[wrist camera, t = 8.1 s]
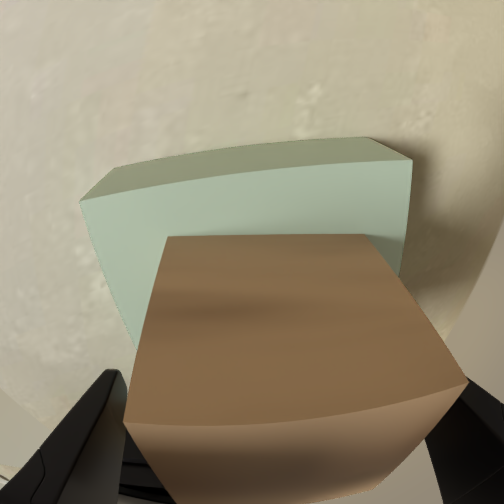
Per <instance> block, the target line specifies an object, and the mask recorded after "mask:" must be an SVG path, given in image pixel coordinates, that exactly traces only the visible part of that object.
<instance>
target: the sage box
mask: <svg viewBox="0 0 504 504" xmlns="http://www.w3.org/2000/svg"><path fill="white" fill-rule="evenodd" d="M412 164H413V160H412V159H410V158H408V157H406V156H404V155H402V154H400V153H398V152H396V151H394V150H392V149H390V148H388V147H386V146H384V145H382V144H380V143H378V142H376V141H374V140H372V139H370V138H367V137H352V138H330V139H313V140H299V141H287V142H276V143H266V144H257V145H248V146H239V147H231V148H224V149H217V150H210V151H203V152H196V153H190V154H184V155H178V156H172V157H166V158H161V159H156V160H150V161H145V162H140V163H135V164H130V165H126V166H121V167H116V168H114V169H112V170H111V171H110V172H109V173H108V174H107V175H106V176H105V177H104V178H103V179H101V180H100V181H99V182H98V183H97V184H96V185H95V186H94V187H93V188H92V189H91V190H90V191H89V192H88V193H87V194H86V195H85V196H84V197H83V198H82V199H81V200H80V201H79V204H80V207H81V210H82V214H83V217H84V220H85V223H86V226H87V229H88V232H89V235H90V238H91V241H92V244H93V247H94V250H95V252H96V255H97V258H98V261H99V263H100V266H101V269H102V271H103V274H104V276H105V279H106V282H107V284H108V287H109V289H110V291H111V294H112V296H113V299H114V301H115V304H116V306H117V308H118V311H119V313H120V315H121V317H122V320H123V322H124V324H125V326H126V329H127V331H128V333H129V335H130V337H131V339H132V342H133V344H134V346H135V348H136V350H138V345H139V341H140V337H141V332H142V328H143V324H144V320H145V316H146V312H147V308H148V304H149V300H150V297H151V293H152V289H153V285H154V282H155V278H156V274H157V271H158V267H159V264H160V260H161V257H162V253H163V250H164V247H165V243H166V240H167V237H168V236H208V235H268V234H365V236H366V237H367V238H368V239H369V241H370V242H371V243H372V244H373V245H374V247H375V248H376V249H377V251H378V252H379V253H380V254H381V256H382V257H383V258H384V259H385V261H386V262H387V263H388V265H389V266H390V267H391V269H392V270H393V271H394V273H395V274H396V275H397V276H398V278H399V273H400V267H401V262H402V255H403V249H404V242H405V235H406V227H407V219H408V211H409V201H410V191H411V179H412Z"/></svg>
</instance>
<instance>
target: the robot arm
mask: <svg viewBox="0 0 504 504" xmlns="http://www.w3.org/2000/svg"><path fill="white" fill-rule="evenodd" d="M466 378H467V377H466ZM467 380H468V381H469V383H468V384H467V386H466V387H465V389H464V390H463V391H462V393H461V394H460V395H459V397H458V398H457V399H456V401H455V402H454V403H453V405H452V406H451V407H450V408H449V410H448V411H447V412H446V413H445V415H444V416H443V417H442V418H441V420H440V421H439V422H438V423H437V424H436V426H435V427H434V428H433V429H432V430H431V431H430V433H429V434H428V435H427V436H426V437H425V438H424V439H425V442H426V445H427V448H428V451H429V455H430V458H431V461H432V464H433V468H434V471H435V475H436V478H437V482H438V485H439V488H440V493H441V496H442V500H443V504H504V404H503V403H500V401H499V400H497V399H496V398H495V397H493V396H492V395H491V394H489V393H488V392H487V391H485V390H484V389H483V388H481V387H480V386H479V385H477V384H476V383H474V382H473V381H472V380H470V379H469V378H467ZM126 402H127V386H126V384H125V381H124V379H123V377H122V374H121V372H120V371H119V370H117V369H106V370H104V372H103V373H102V374H101V375H100V376H99V377H98V378H97V380H96V381H95V382H94V383H93V384H92V385H91V387H90V388H89V389H88V390H87V391H86V392H85V394H84V395H83V396H82V397H81V398H80V399H79V401H78V402H77V403H76V404H75V405H74V407H73V408H72V409H71V410H70V411H69V412H68V414H67V415H66V416H65V417H64V418H63V420H62V421H61V422H60V423H59V424H58V426H57V427H56V428H55V429H54V430H53V432H52V433H51V434H50V435H49V437H48V438H47V439H46V440H45V441H44V443H43V444H42V445H41V446H40V449H38V450H37V451H36V452H35V453H34V455H33V456H32V457H31V458H30V459H29V461H28V462H27V463H26V464H25V465H24V467H23V468H22V469H21V470H20V471H19V472H18V473H17V474H16V475H15V476H14V477H13V478H12V479H11V480H10V481H9V482H8V483H7V484H6V485H5V486H4V487H3V488H2V489H1V490H0V504H177V503H176V502H175V501H174V499H173V498H172V497H171V495H170V494H169V493H168V491H167V490H166V489H165V487H164V486H163V484H162V483H161V482H160V480H159V479H158V477H157V476H156V474H155V473H154V471H153V470H152V468H151V467H150V465H149V464H148V462H147V461H146V459H145V458H144V456H143V455H142V453H141V451H140V450H139V448H138V447H137V445H136V443H135V442H134V440H133V438H132V437H131V435H130V433H129V432H128V430H127V428H126V427H125V425H124V423H123V419H124V413H125V408H126Z"/></svg>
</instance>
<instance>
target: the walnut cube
mask: <svg viewBox="0 0 504 504" xmlns="http://www.w3.org/2000/svg"><path fill="white" fill-rule="evenodd" d="M468 383H469V381H468V380H467V378H466V376H465V375H464V373H463V372H462V370H461V368H460V367H459V365H458V364H457V362H456V360H455V359H454V357H453V356H452V354H451V353H450V351H449V349H448V348H447V346H446V345H445V343H444V342H443V340H442V339H441V337H440V336H439V334H438V333H437V331H436V330H435V328H434V327H433V325H432V324H431V322H430V321H429V319H428V318H427V317H426V315H425V314H424V312H423V311H422V309H421V308H420V307H419V305H418V304H417V302H416V301H415V300H414V298H413V297H412V295H411V294H410V293H409V291H408V290H407V289H406V287H405V286H404V285H403V283H402V282H401V280H400V279H399V278H398V276H397V275H396V274H395V273H394V271H393V270H392V269H391V267H390V266H389V265H388V263H387V262H386V261H385V259H384V258H383V257H382V256H381V254H380V253H379V252H378V251H377V249H376V248H375V247H374V245H373V244H372V243H371V242H370V241H369V239H368V238H367V237H366V236H365V234H268V235H208V236H168V237H167V240H166V243H165V247H164V250H163V253H162V257H161V260H160V264H159V267H158V271H157V274H156V278H155V282H154V285H153V289H152V293H151V297H150V300H149V304H148V308H147V312H146V316H145V320H144V324H143V328H142V332H141V337H140V341H139V345H138V350H137V354H136V358H135V363H134V368H133V372H132V377H131V382H130V387H129V392H128V397H127V402H126V408H125V413H124V419H123V423H124V425H125V427H126V428H127V430H128V432H129V433H130V435H131V437H132V438H133V440H134V442H135V443H136V445H137V447H138V448H139V450H140V451H141V453H142V455H143V456H144V458H145V459H146V461H147V462H148V464H149V465H150V467H151V468H152V470H153V471H154V473H155V474H156V476H157V477H158V479H159V480H160V482H161V483H162V484H163V486H164V487H165V489H166V490H167V491H168V493H169V494H170V495H171V497H172V498H173V499H174V501H175V502H176V503H177V504H307V503H314V502H320V501H324V500H330V499H335V498H340V497H344V496H349V495H353V494H357V493H361V492H365V491H369V490H372V489H374V488H375V487H376V486H377V485H378V484H379V483H381V482H382V481H383V480H384V479H385V478H386V477H387V476H388V475H389V474H390V473H391V472H392V471H393V470H394V469H395V468H396V467H397V466H399V465H400V464H401V462H403V461H404V460H405V458H406V457H407V456H408V455H409V454H410V453H411V452H412V451H413V450H414V449H415V448H416V447H417V446H418V445H419V444H420V443H421V441H422V440H423V439H424V438H425V437H426V436H427V435H428V434H429V433H430V431H431V430H432V429H433V428H434V427H435V426H436V424H437V423H438V422H439V421H440V420H441V418H442V417H443V416H444V415H445V413H446V412H447V411H448V410H449V408H450V407H451V406H452V405H453V403H454V402H455V401H456V399H457V398H458V397H459V395H460V394H461V393H462V391H463V390H464V389H465V387H466V386H467V384H468Z"/></svg>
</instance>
